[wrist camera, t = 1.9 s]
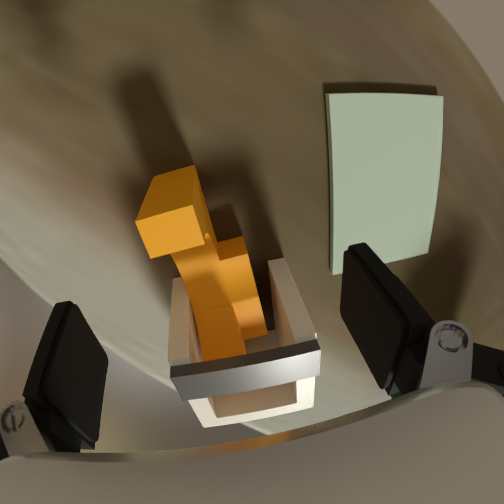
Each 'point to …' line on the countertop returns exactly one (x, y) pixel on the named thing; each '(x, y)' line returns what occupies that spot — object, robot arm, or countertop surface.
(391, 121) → the mat
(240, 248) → the orange branched block
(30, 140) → the countertop surface
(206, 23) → the countertop surface
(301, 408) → the hollow square frame
